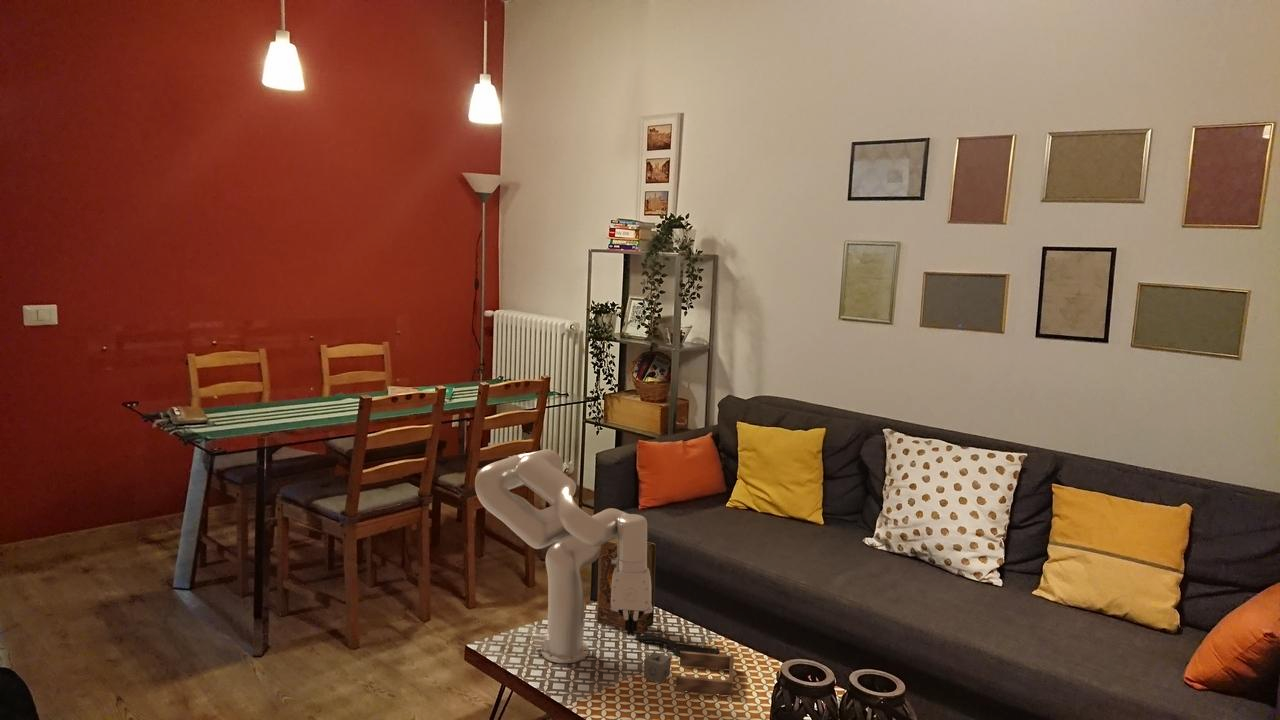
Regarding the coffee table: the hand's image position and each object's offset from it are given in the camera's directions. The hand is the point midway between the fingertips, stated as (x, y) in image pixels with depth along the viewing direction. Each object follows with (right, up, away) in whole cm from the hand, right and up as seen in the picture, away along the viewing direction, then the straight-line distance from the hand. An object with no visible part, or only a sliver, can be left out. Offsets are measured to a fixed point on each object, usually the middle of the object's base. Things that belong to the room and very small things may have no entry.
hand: (631, 633), depth 212 cm
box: (+19, -12, -1) cm, 22 cm away
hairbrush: (+12, -10, +15) cm, 22 cm away
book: (-3, -7, +29) cm, 30 cm away
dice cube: (+7, -11, 0) cm, 13 cm away
